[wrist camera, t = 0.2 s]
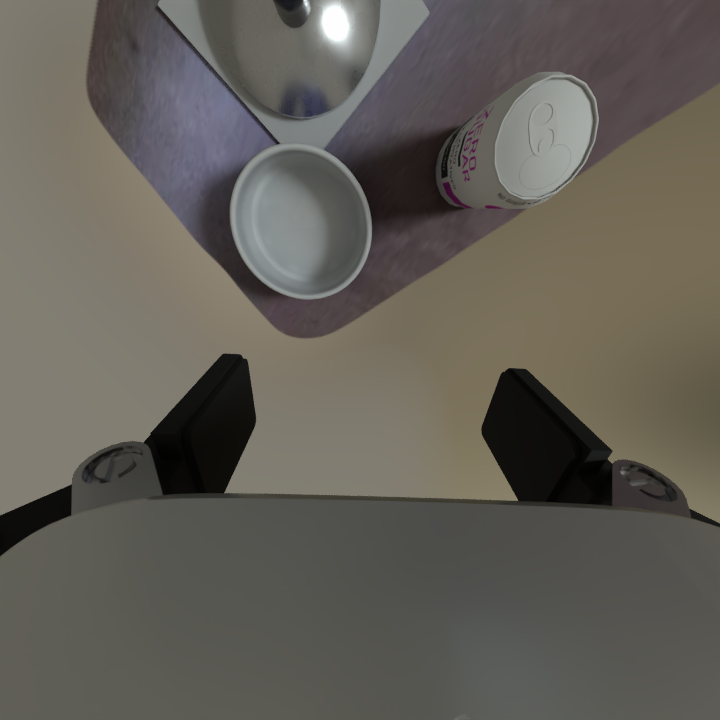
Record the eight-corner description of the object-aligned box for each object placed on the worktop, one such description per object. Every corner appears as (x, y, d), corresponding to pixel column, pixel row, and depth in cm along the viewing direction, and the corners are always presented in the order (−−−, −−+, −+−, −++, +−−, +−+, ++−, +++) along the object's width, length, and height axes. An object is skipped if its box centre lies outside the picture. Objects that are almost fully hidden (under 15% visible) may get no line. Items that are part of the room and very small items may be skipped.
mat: (278, -247, 20) (277, -255, 20) (428, 15, 27) (429, 13, 26) (159, 7, 26) (157, 4, 26) (306, 172, 33) (305, 172, 32)
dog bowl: (268, 293, 39) (255, 307, 34) (228, 161, 32) (203, 155, 26) (375, 278, 39) (378, 291, 33) (361, 140, 31) (362, 129, 26)
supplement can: (508, 191, 34) (605, 181, 21) (442, 218, 35) (493, 225, 22) (500, 109, 30) (612, 34, 17) (426, 143, 31) (476, 98, 18)
